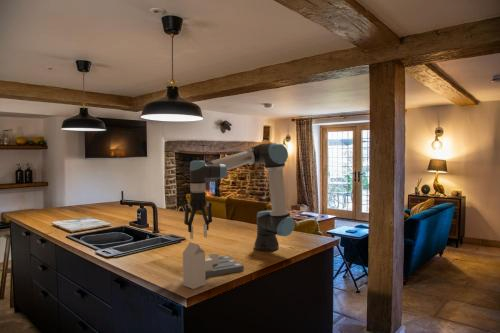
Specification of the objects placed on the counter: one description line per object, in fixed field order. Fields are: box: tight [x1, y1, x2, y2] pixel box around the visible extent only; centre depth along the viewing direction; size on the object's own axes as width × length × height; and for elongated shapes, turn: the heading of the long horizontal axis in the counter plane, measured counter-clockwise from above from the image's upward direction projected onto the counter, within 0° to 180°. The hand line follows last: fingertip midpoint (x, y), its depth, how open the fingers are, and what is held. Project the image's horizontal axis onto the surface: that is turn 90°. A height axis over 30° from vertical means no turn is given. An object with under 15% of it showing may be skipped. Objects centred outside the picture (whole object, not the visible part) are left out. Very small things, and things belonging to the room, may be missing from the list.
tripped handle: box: [208, 251, 220, 265], centre depth 180 cm, size 4×4×5 cm
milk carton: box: [182, 241, 206, 290], centre depth 158 cm, size 7×7×19 cm
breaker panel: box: [205, 254, 245, 278], centre depth 181 cm, size 24×20×8 cm
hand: (198, 237), depth 176 cm, fingers open, 6 cm apart
